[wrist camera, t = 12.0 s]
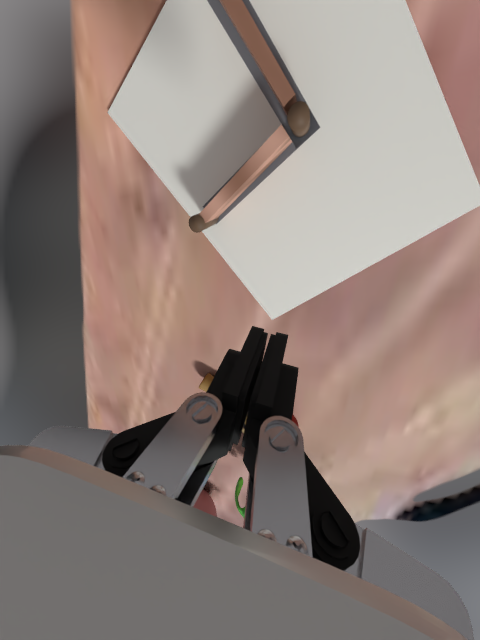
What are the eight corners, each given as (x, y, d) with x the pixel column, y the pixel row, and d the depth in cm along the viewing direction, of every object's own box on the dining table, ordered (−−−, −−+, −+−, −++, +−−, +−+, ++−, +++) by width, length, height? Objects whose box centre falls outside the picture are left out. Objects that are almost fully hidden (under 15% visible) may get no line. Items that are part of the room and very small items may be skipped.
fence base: (215, -47, 17) (188, -108, 14) (313, 126, 21) (314, 116, 17) (200, -22, 18) (171, -73, 14) (298, 141, 22) (294, 135, 18)
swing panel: (284, 129, 21) (278, 119, 18) (294, 145, 22) (291, 139, 18) (202, 216, 27) (185, 222, 24) (211, 227, 28) (196, 235, 24)
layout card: (302, -247, 13) (302, -259, 13) (483, 201, 21) (486, 202, 21) (110, 113, 25) (107, 112, 24) (272, 318, 33) (272, 320, 32)
